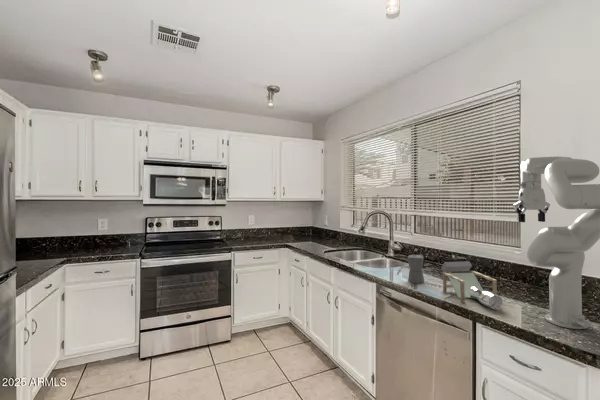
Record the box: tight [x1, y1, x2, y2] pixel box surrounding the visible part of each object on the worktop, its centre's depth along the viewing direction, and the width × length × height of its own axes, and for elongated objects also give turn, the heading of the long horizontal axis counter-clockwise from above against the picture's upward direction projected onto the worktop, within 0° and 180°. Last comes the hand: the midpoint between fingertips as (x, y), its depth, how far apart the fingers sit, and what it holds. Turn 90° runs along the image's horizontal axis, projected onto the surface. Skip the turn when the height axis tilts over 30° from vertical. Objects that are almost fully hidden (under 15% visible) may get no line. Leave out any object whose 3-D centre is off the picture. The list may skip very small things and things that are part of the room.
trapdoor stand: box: [442, 270, 498, 304], centre depth 147 cm, size 17×17×10 cm
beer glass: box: [468, 287, 504, 311], centre depth 136 cm, size 7×7×15 cm
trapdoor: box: [440, 260, 484, 300], centre depth 151 cm, size 20×14×5 cm
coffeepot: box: [407, 251, 426, 284], centre depth 175 cm, size 15×9×18 cm, turn 121°
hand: (531, 221), depth 137 cm, fingers open, 9 cm apart
